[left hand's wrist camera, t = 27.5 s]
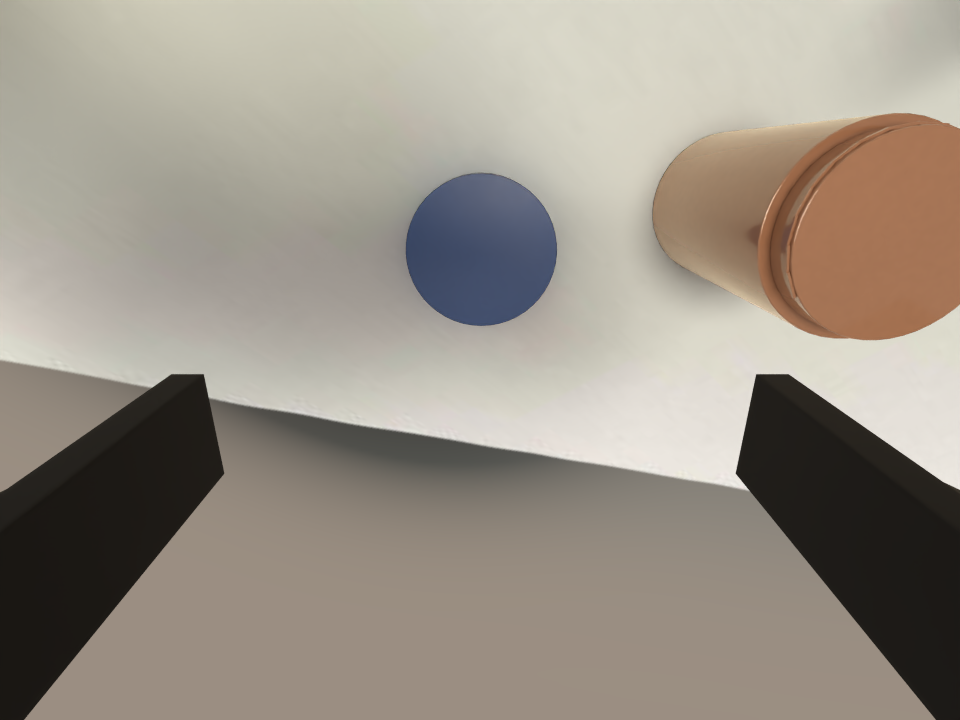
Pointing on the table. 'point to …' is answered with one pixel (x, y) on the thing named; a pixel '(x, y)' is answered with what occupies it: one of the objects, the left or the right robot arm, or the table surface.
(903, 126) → the jar
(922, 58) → the table surface
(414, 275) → the lid
